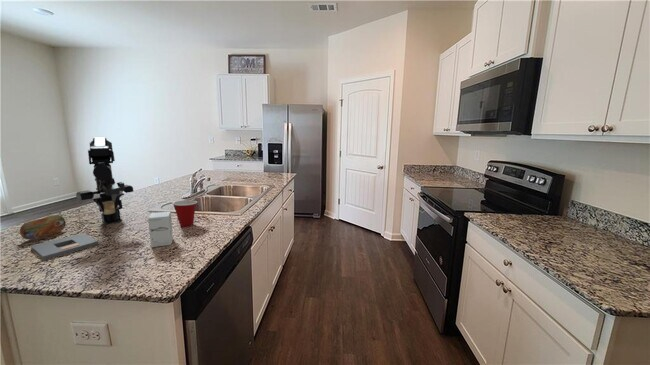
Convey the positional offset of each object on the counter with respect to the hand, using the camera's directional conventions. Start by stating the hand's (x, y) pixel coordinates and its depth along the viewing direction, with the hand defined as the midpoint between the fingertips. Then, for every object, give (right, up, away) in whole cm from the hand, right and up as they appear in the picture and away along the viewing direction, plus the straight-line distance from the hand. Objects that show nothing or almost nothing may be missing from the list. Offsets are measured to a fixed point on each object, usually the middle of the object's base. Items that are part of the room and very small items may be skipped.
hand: (109, 210), depth 117 cm
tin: (-28, -11, 0) cm, 30 cm away
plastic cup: (+27, -9, +15) cm, 32 cm away
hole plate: (-8, -13, -11) cm, 19 cm away
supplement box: (+27, -13, -6) cm, 31 cm away
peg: (0, -1, 0) cm, 1 cm away
